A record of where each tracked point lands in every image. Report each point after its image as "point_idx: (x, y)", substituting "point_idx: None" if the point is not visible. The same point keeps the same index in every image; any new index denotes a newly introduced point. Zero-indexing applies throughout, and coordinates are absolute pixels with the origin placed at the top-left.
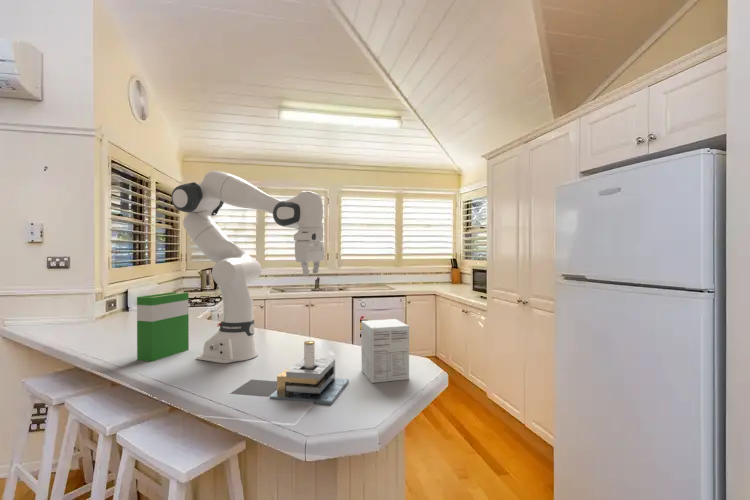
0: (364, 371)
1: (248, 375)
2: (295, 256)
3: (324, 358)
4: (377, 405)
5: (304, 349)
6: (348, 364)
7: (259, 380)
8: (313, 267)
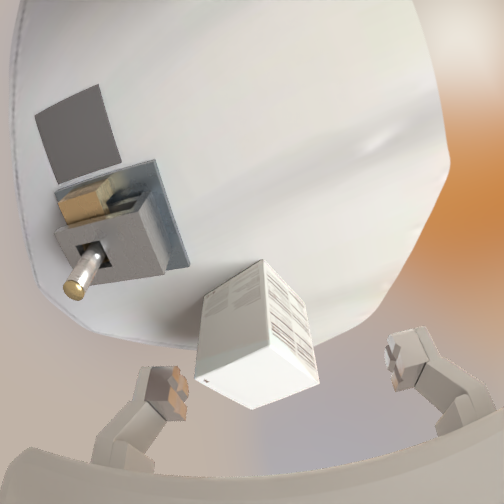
0: (240, 276)
1: (122, 49)
2: (4, 480)
3: (155, 254)
4: (136, 322)
5: (69, 275)
6: (296, 218)
7: (100, 105)
8: (436, 369)
